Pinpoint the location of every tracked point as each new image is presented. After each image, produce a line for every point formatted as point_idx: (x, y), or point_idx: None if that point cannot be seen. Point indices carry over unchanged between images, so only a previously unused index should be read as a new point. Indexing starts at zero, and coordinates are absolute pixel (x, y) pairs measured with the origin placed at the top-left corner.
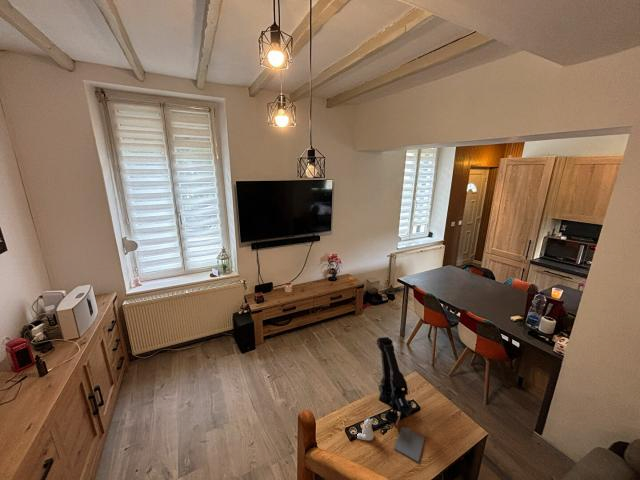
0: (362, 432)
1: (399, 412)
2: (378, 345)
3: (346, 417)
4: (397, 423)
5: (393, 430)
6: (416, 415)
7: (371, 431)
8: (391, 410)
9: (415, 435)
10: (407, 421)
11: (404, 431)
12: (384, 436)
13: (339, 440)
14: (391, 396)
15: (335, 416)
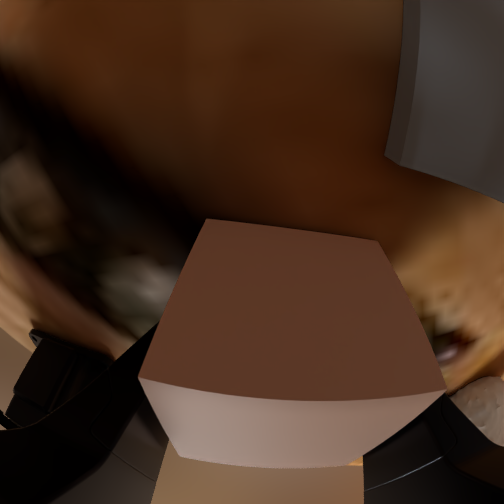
0: None
1: (188, 402)
2: None
3: (360, 457)
4: (394, 272)
5: (450, 273)
6: (26, 17)
7: (502, 430)
8: (247, 464)
9: None
10: (186, 67)
11: (484, 120)
12: (492, 327)
13: None
14: None
15: (362, 465)
